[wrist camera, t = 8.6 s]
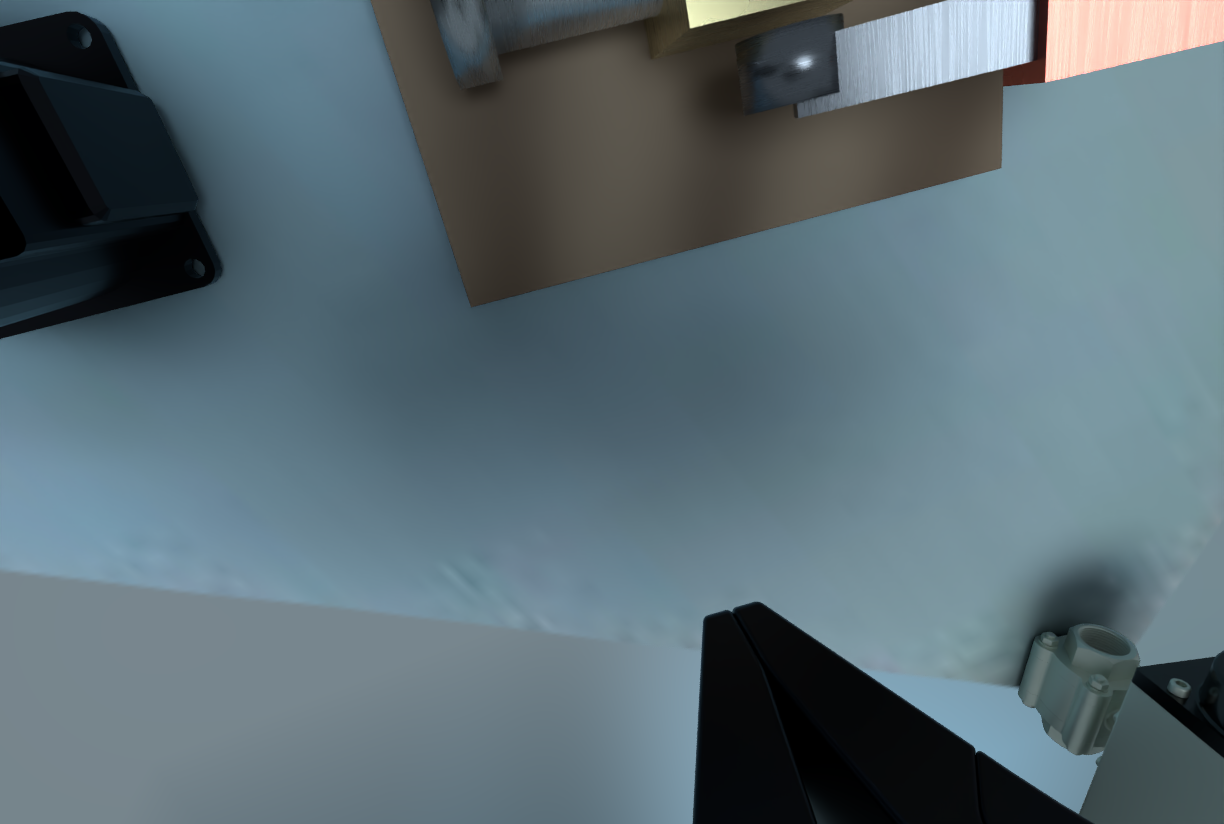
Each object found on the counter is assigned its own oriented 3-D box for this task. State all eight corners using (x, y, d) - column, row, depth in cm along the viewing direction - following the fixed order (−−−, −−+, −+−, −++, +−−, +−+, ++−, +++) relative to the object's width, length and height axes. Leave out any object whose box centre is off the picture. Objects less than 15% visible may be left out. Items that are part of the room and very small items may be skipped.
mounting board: (473, 299, 18) (471, 307, 17) (323, -163, 14) (307, -192, 13) (973, 168, 19) (1001, 168, 18) (975, -308, 15) (1011, -346, 14)
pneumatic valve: (981, 758, 30) (1254, 1103, 19) (1040, 556, 26) (1440, 850, 15) (1082, 743, 31) (1401, 1067, 20) (1156, 544, 26) (1619, 814, 15)
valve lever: (748, 151, 13) (1399, -1, 10) (732, 34, 12) (1439, -169, 9) (748, 146, 15) (1295, 16, 12) (734, 45, 14) (1321, -122, 11)
